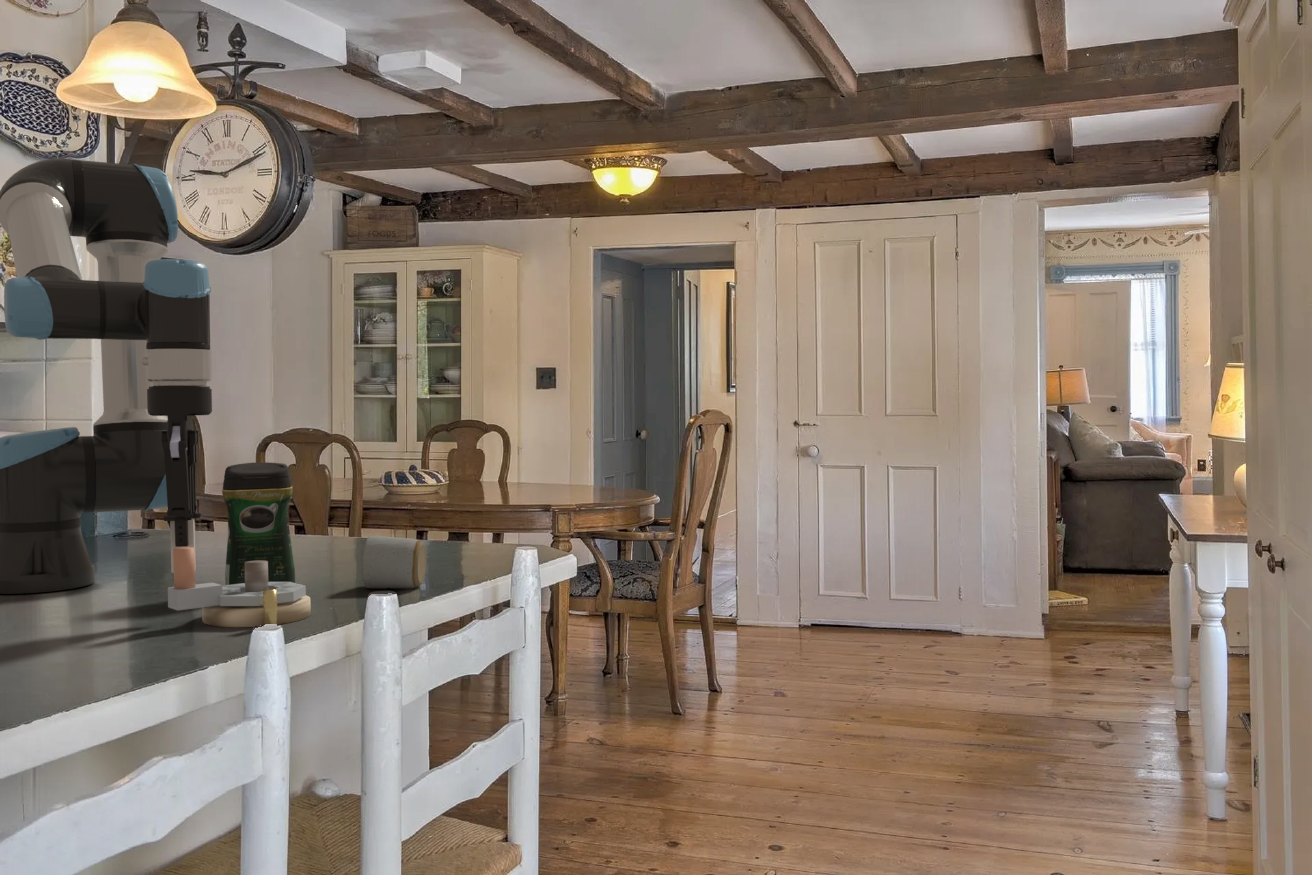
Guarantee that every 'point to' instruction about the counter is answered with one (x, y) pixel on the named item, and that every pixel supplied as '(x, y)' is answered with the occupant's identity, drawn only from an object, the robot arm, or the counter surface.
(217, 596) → the grey base with pegs
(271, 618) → the dowel pin
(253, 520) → the coffee jar
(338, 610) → the counter surface
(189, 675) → the counter surface
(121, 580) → the counter surface
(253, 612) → the pedestal
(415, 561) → the ceramic mug
